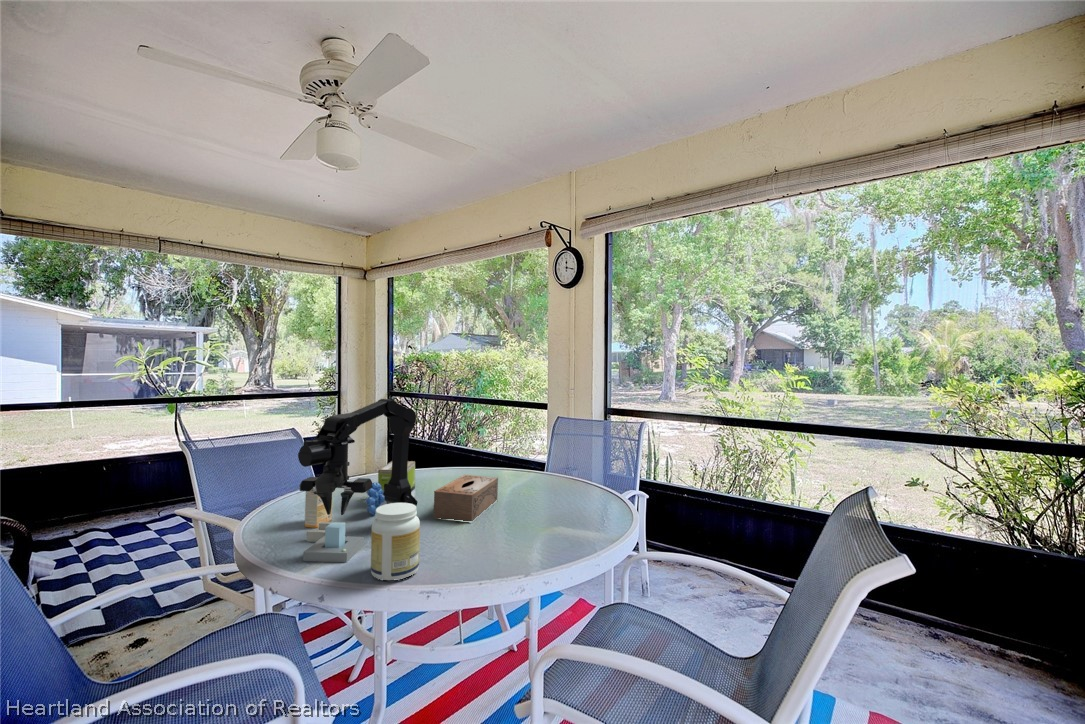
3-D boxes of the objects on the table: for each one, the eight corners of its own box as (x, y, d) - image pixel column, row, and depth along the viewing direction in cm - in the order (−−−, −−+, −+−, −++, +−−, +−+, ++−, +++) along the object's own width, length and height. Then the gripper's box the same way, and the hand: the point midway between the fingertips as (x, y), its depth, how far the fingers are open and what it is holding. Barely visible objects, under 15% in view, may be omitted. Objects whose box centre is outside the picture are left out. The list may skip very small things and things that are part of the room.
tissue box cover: (471, 524, 163) (472, 495, 163) (433, 519, 166) (434, 491, 166) (497, 502, 188) (497, 477, 188) (463, 499, 191) (464, 474, 191)
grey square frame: (345, 531, 152) (346, 522, 152) (332, 542, 143) (333, 532, 143) (321, 530, 152) (321, 521, 152) (306, 541, 143) (307, 531, 143)
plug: (344, 550, 137) (345, 522, 137) (338, 556, 133) (339, 527, 133) (331, 549, 137) (331, 522, 137) (324, 555, 133) (325, 527, 133)
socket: (363, 545, 141) (364, 535, 141) (346, 562, 129) (346, 551, 129) (324, 544, 141) (324, 534, 141) (303, 560, 129) (303, 550, 129)
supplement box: (316, 528, 154) (317, 488, 154) (304, 527, 155) (304, 487, 155) (333, 520, 162) (333, 482, 162) (320, 519, 163) (321, 481, 163)
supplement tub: (425, 563, 130) (426, 502, 130) (409, 584, 118) (411, 516, 118) (381, 561, 130) (383, 500, 130) (362, 581, 118) (363, 514, 118)
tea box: (391, 496, 192) (392, 460, 192) (415, 497, 192) (416, 460, 192) (376, 507, 177) (377, 468, 177) (403, 508, 177) (404, 469, 177)
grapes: (380, 521, 162) (381, 486, 162) (360, 520, 163) (361, 485, 163) (392, 510, 174) (392, 478, 174) (373, 509, 174) (374, 477, 174)
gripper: (289, 465, 127) (287, 523, 127) (357, 467, 127) (356, 525, 127) (310, 457, 139) (308, 510, 139) (373, 458, 138) (372, 512, 138)
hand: (335, 514), depth 135 cm, fingers open, 4 cm apart
